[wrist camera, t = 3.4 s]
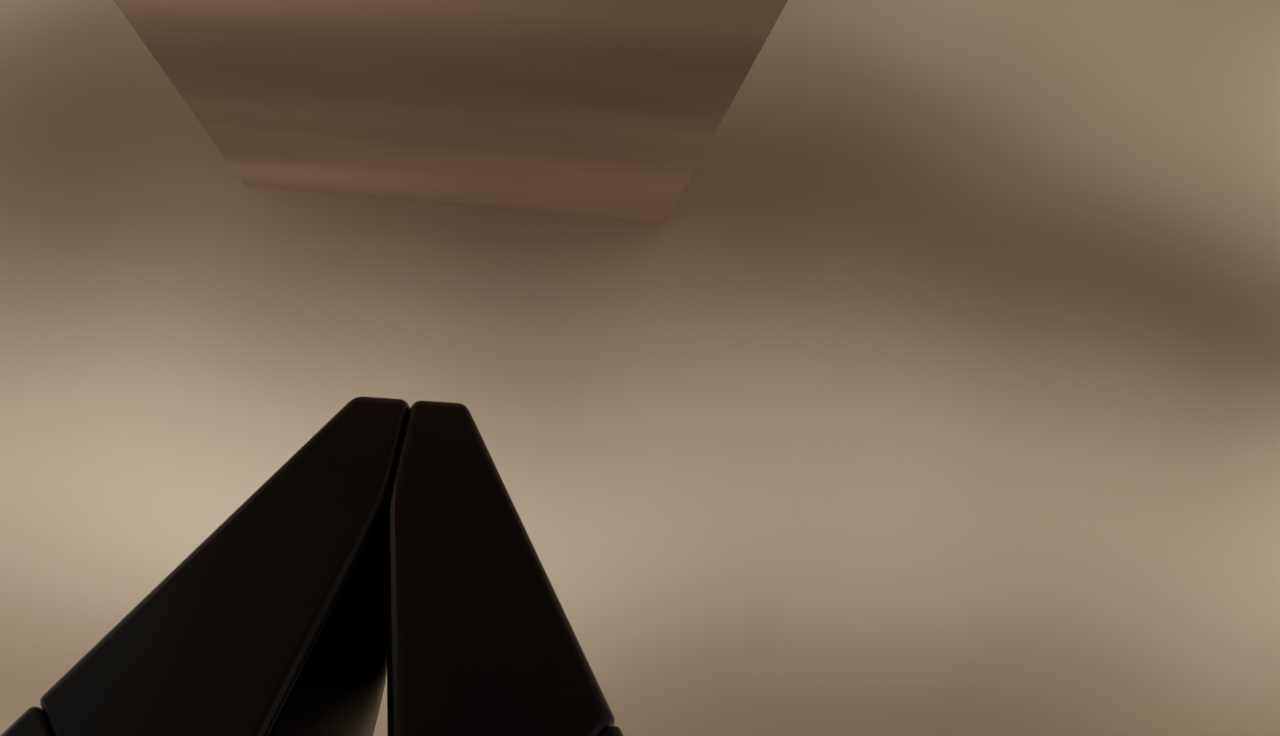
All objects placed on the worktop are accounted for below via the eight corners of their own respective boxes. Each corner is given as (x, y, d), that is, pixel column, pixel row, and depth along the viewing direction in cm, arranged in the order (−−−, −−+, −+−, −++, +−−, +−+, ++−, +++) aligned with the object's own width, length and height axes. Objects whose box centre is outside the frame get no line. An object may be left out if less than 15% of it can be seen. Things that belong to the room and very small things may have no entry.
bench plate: (1172, 783, 16) (1324, 838, 13) (-475, 738, 13) (-748, 794, 10) (1149, -78, 18) (1274, -195, 15) (-262, -267, 16) (-436, -452, 13)
